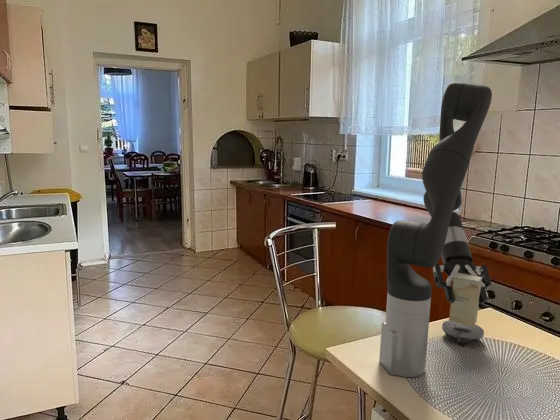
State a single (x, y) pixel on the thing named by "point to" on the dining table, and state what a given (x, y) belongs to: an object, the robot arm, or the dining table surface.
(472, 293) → the skincare box
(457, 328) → the dark gray bowl
